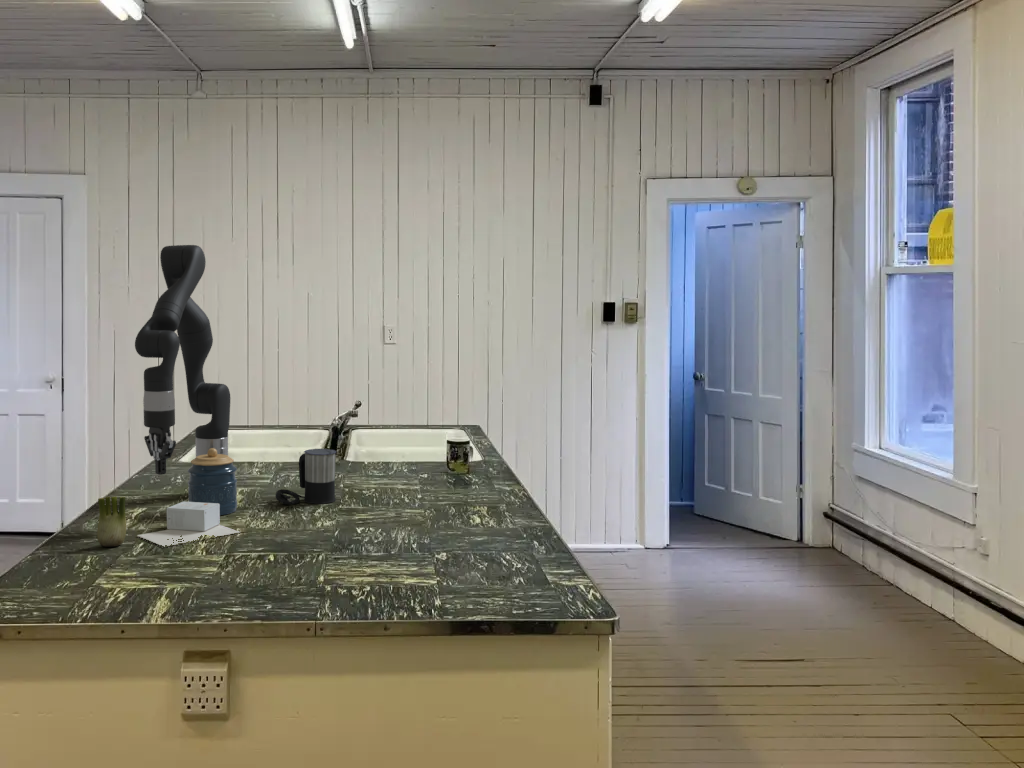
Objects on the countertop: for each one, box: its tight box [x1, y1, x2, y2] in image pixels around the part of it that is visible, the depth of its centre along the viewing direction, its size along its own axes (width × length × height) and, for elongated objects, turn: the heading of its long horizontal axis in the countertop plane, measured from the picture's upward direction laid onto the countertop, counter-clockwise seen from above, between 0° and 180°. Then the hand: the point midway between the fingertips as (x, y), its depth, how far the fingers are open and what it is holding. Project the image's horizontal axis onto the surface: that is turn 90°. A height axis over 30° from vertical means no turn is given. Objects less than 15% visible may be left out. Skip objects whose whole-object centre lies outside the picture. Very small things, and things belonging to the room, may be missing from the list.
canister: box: [187, 448, 238, 516], centre depth 254 cm, size 13×13×18 cm
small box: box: [166, 500, 221, 531], centre depth 236 cm, size 8×6×10 cm
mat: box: [136, 524, 241, 547], centre depth 230 cm, size 20×14×1 cm
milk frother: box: [275, 448, 337, 505], centre depth 268 cm, size 14×16×15 cm
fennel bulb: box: [96, 495, 127, 548], centre depth 218 cm, size 6×5×12 cm
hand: (160, 473), depth 240 cm, fingers closed
